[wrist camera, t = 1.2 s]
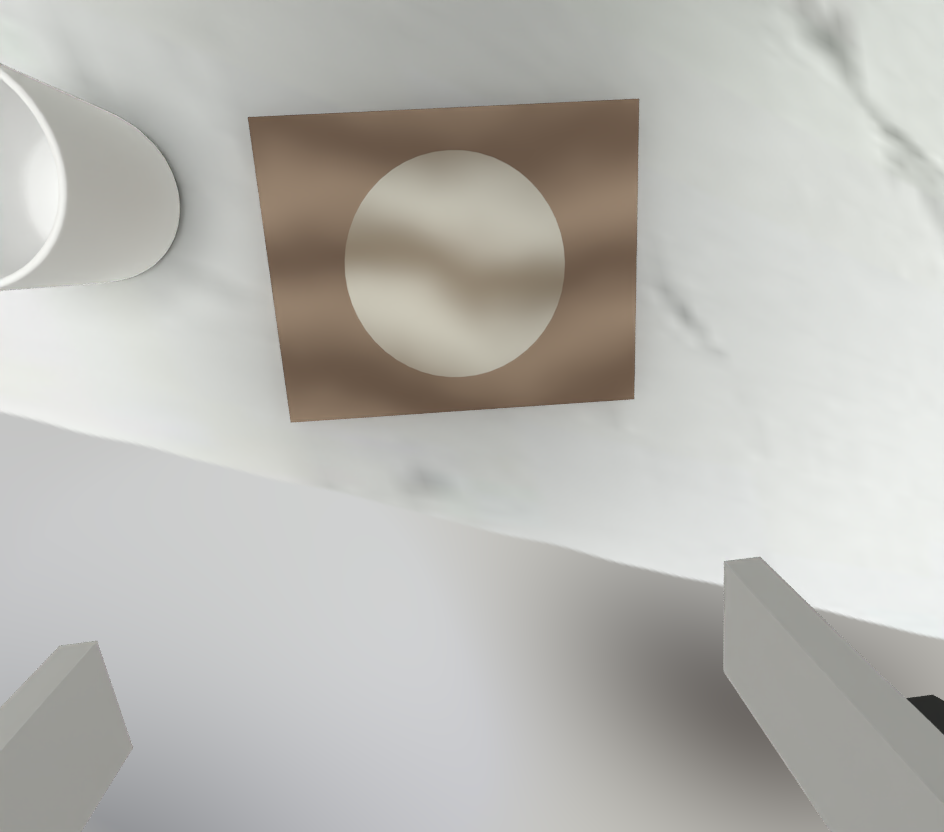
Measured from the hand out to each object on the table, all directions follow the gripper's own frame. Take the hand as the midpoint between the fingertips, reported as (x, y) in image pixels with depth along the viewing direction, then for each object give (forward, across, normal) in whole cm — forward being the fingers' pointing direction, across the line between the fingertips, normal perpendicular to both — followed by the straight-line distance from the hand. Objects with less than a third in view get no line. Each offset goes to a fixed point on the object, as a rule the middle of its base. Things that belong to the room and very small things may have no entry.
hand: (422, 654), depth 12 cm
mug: (+24, -18, +14) cm, 33 cm away
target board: (+24, +2, +7) cm, 25 cm away
